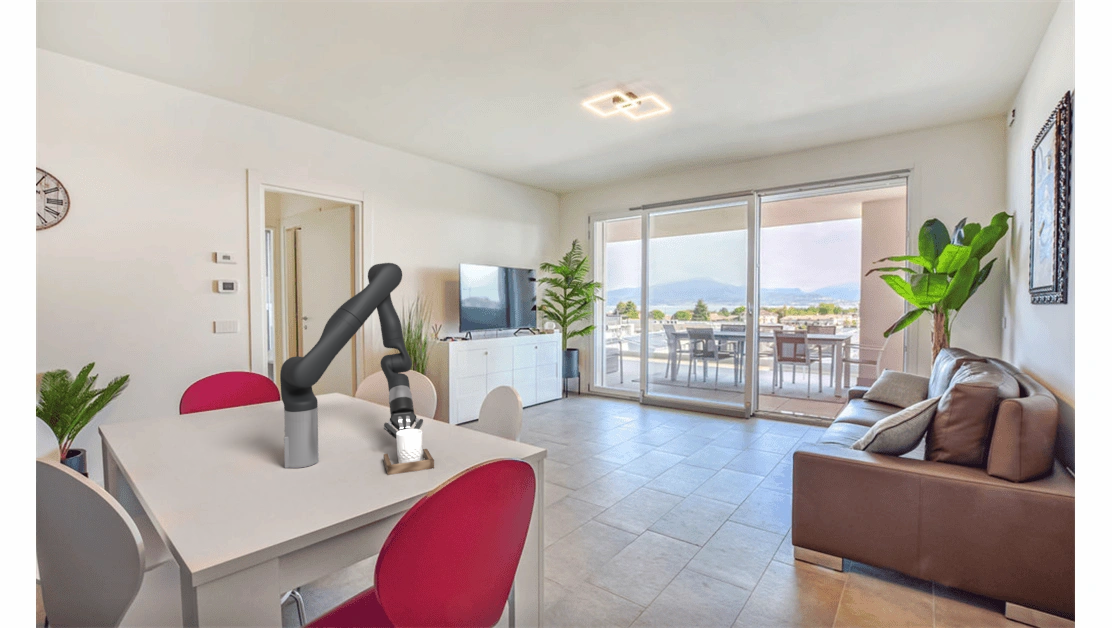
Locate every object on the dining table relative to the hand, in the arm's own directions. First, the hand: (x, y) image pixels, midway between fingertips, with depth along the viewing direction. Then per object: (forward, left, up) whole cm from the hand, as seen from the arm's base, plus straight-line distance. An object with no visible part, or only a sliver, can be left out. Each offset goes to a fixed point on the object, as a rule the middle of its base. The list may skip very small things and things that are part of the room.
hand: (406, 448), depth 157 cm
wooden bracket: (0, -4, -4) cm, 6 cm away
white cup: (0, -4, -4) cm, 6 cm away
